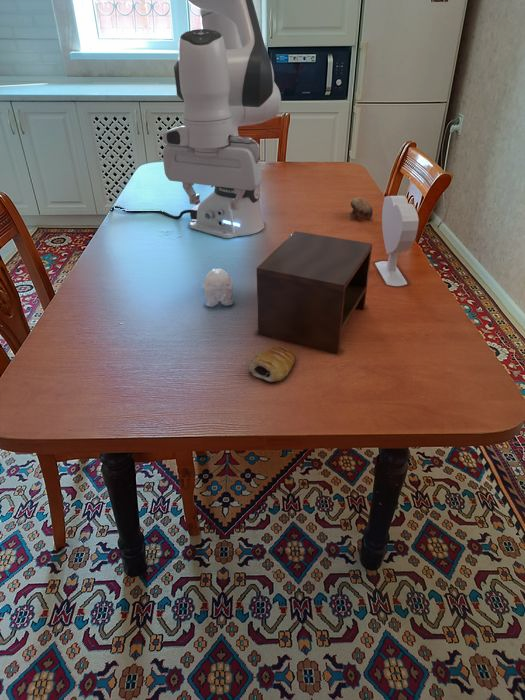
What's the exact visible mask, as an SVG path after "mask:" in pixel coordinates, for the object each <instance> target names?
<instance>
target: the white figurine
mask: <svg viewBox="0 0 525 700" xmlns="http://www.w3.org/2000/svg"><path fill="white" fill-rule="evenodd" d="M233 287H234V286H233V281H232V277H231V276H230V274H228V273H227V272H226V271H225V270H224V269H222V268H212V269H211V270H210V271H209V272H208V273H207V274H206V275H205V277H204V280H203V290H204V298H205V300H208V301H206V303H205V305H206V306H207V307H210V308H211V307H212V308H214V307H215V306H217V305H218V304H219V302H220V303H221V304H222V305H223V306H231V305H233V303H234V301H233V300H231V299H230V298H233V297H234V296H233Z"/></svg>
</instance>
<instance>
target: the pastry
mask: <svg viewBox="0 0 525 700" xmlns="http://www.w3.org/2000/svg"><path fill="white" fill-rule="evenodd" d="M295 361H296V353H295V351H294V350H293V349H291V348H290V347H288V346H286V345H285V346H284V345H280V346H276V347H275V346H274V347H272V348H267V349H266V350H263V351H261V352H260V354H257V355H256V356H255V357H254V358H253V360H252V363H251V364H250V366H249V367H248V370H249V372H250V373H251V375H252V376H253V377H256V378H259V379H261V380H264V381H266V382H269V383H274V382H279V381H282V380H283V379H284V378H286V377H287V376H288V375H289V373H290V372H291V369H292V368H293V366H294V363H295Z"/></svg>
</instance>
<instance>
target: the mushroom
mask: <svg viewBox="0 0 525 700" xmlns="http://www.w3.org/2000/svg"><path fill="white" fill-rule="evenodd" d="M350 206H351V207H350V208H352V210H351V211H350V212H349V213H348V215H349V217H350V218H351V219H352V220H353V219H354V220H356V219H357V218H360V217H362V218H365V219H367V220H370V219H372V217H373V213H374V212H373V206H372V205H371V204H370V203H369V202H368V201H367V200H366V199H364V198H362V197H355V198H353V199H351V200H350Z"/></svg>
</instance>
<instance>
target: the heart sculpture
mask: <svg viewBox="0 0 525 700" xmlns="http://www.w3.org/2000/svg"><path fill="white" fill-rule="evenodd" d="M381 212H382V213H381V229H382V237H383V242H384V248H385V254H386V255H388V257H387V260H381V261H377V262H374V264H375V267H376V268H377V270H378V272H379V274H380V275H381V277H382V278H383V280H384V282H385V284H386V285H387V286H393V287H402V286H405V285H408V282H407V280H406V279H405V277H404V276H403V274H402V273H401V271H400V270H399V268H398V266H397V265H398V259H399V255H401V254H403V253H406V252H408V251H410V250H411V249H412V247H413V245H414V243H415V242H416V239H417V234H418V230H419V222H420V219H419V214H418V212H417V210H416V207H415V206H414V204H412V203H409V202H408V197H406V196H405V195H386V196H385V197H384V198H383V204H382V211H381Z"/></svg>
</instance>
